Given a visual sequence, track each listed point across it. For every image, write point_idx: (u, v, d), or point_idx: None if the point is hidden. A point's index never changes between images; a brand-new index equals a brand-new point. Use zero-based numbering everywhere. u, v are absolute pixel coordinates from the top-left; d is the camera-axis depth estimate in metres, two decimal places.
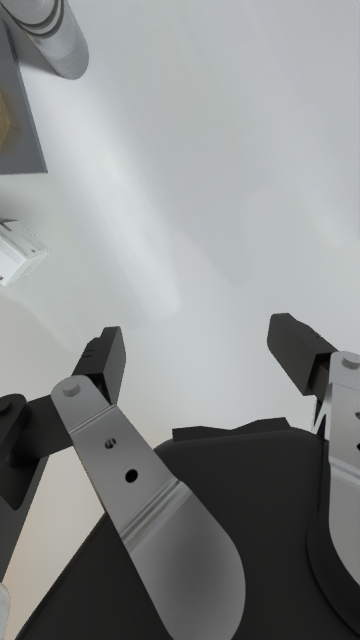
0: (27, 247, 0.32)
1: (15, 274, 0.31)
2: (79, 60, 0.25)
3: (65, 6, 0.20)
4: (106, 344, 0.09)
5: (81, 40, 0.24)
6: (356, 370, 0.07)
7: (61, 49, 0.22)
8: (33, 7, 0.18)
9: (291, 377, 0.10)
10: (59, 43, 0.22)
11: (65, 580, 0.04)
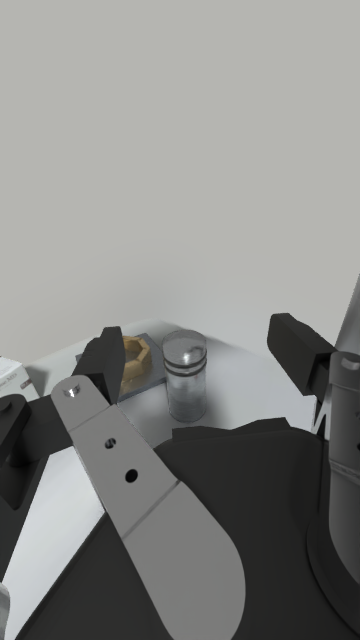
0: None
1: None
2: (181, 410, 0.28)
3: (193, 379, 0.25)
4: (106, 344, 0.09)
5: (194, 406, 0.27)
6: (356, 370, 0.07)
7: (172, 387, 0.26)
8: (169, 351, 0.24)
9: (291, 377, 0.10)
10: (173, 383, 0.26)
11: (64, 580, 0.04)
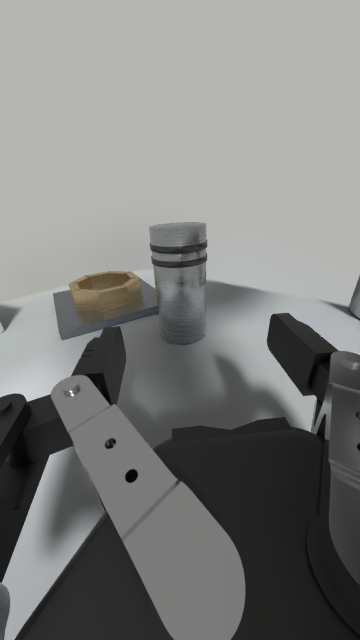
0: None
1: None
2: (175, 325, 0.22)
3: (190, 273, 0.19)
4: (106, 344, 0.09)
5: (190, 319, 0.21)
6: (356, 370, 0.07)
7: (163, 290, 0.20)
8: (158, 228, 0.18)
9: (291, 377, 0.10)
10: (164, 282, 0.20)
11: (64, 580, 0.04)
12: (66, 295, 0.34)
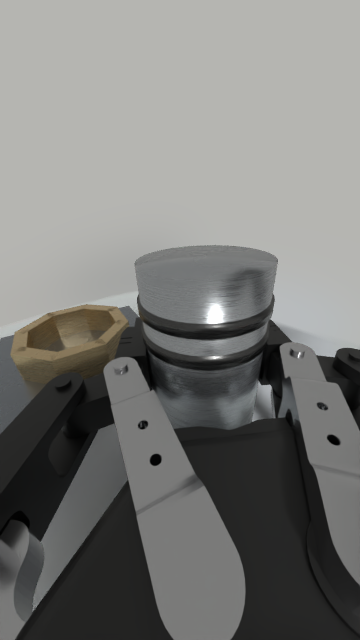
0: None
1: None
2: None
3: (235, 377, 0.08)
4: None
5: None
6: (299, 359, 0.08)
7: (167, 403, 0.09)
8: (156, 274, 0.07)
9: None
10: (169, 391, 0.08)
11: (64, 580, 0.04)
12: None
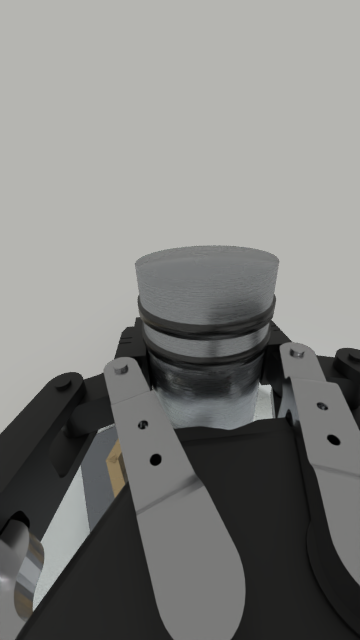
0: None
1: None
2: None
3: (236, 378, 0.08)
4: None
5: None
6: (299, 359, 0.08)
7: (168, 404, 0.09)
8: (156, 274, 0.06)
9: None
10: (170, 392, 0.08)
11: (64, 580, 0.04)
12: (97, 452, 0.23)
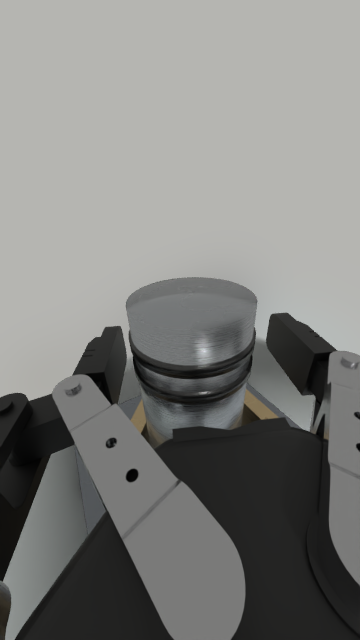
0: None
1: None
2: None
3: (219, 409, 0.08)
4: (107, 344, 0.09)
5: None
6: (354, 370, 0.07)
7: (157, 429, 0.10)
8: (144, 320, 0.07)
9: (290, 377, 0.10)
10: (159, 419, 0.09)
11: (65, 580, 0.04)
12: None
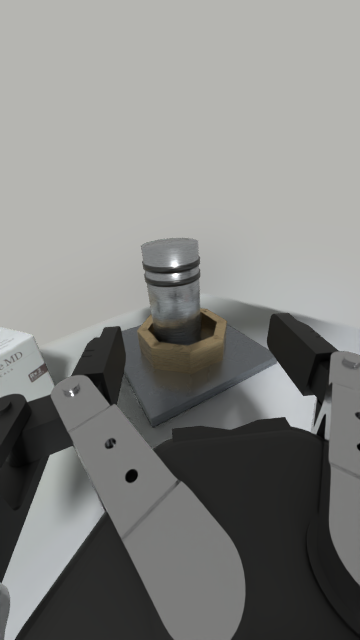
0: None
1: None
2: (171, 341, 0.22)
3: (183, 291, 0.19)
4: (106, 344, 0.09)
5: (186, 335, 0.21)
6: (356, 370, 0.07)
7: (157, 308, 0.20)
8: (150, 249, 0.18)
9: (291, 377, 0.10)
10: (158, 301, 0.20)
11: (64, 580, 0.04)
12: (125, 339, 0.27)
